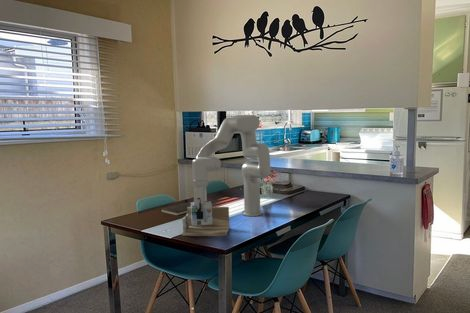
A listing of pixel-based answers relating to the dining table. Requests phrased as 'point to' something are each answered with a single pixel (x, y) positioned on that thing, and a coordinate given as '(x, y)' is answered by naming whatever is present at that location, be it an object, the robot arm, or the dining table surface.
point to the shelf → (215, 229)
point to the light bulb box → (206, 214)
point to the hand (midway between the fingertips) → (201, 216)
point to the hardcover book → (177, 209)
